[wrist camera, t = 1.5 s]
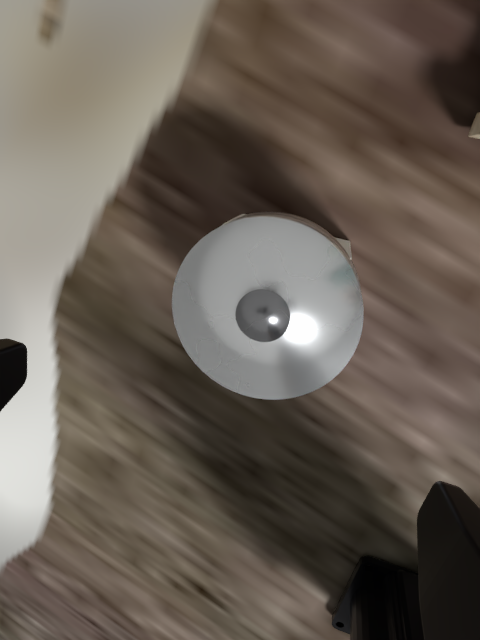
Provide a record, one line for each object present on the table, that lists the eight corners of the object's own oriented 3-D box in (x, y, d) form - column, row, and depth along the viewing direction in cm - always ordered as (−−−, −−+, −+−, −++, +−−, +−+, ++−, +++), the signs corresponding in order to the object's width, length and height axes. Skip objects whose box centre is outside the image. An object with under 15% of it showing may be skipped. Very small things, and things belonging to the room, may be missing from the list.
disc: (330, 400, 17) (329, 423, 16) (175, 352, 18) (159, 370, 17) (388, 238, 14) (394, 247, 13) (202, 191, 15) (186, 194, 14)
